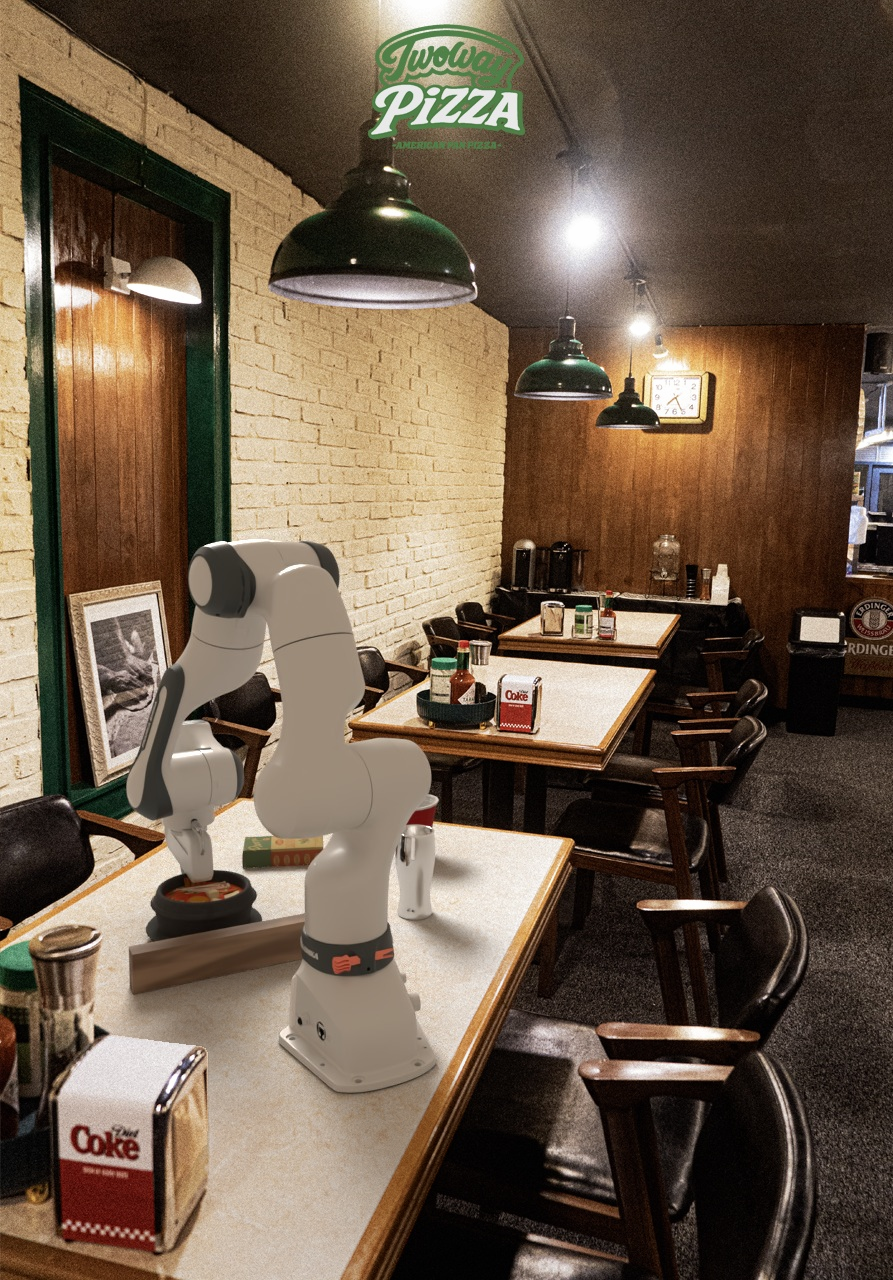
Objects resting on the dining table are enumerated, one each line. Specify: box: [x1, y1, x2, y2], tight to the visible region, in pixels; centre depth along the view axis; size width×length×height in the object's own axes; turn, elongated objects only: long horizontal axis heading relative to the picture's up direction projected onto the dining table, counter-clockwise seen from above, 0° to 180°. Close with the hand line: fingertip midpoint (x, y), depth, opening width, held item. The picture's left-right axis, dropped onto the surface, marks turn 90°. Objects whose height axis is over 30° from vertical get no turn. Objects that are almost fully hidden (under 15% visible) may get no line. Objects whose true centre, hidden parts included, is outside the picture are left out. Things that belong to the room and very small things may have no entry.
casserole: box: [145, 869, 263, 942], centre depth 157 cm, size 25×19×8 cm
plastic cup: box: [406, 793, 440, 828], centre depth 195 cm, size 11×11×12 cm
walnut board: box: [128, 912, 305, 995], centre depth 145 cm, size 3×28×6 cm, turn 118°
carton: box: [241, 835, 324, 869], centre depth 193 cm, size 8×16×4 cm, turn 99°
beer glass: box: [394, 825, 436, 921], centre depth 167 cm, size 7×7×15 cm
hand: (189, 889), depth 166 cm, fingers closed
